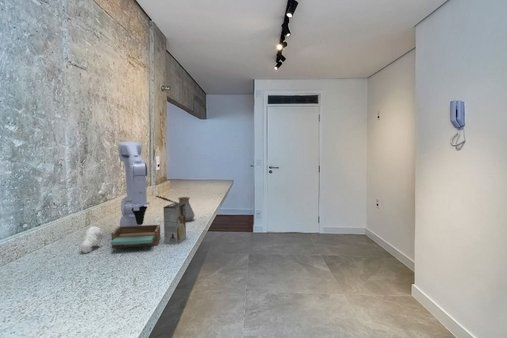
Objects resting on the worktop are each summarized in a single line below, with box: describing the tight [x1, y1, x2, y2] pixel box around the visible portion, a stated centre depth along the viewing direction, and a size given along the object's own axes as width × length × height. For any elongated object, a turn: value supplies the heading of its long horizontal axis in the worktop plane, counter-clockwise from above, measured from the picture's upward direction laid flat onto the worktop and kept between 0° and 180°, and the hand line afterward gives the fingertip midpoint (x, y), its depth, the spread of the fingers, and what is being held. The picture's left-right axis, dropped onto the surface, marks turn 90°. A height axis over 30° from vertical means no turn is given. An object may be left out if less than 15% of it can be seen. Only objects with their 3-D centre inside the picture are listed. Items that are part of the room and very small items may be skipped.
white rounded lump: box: [79, 225, 104, 254], centre depth 129 cm, size 6×8×12 cm
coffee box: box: [163, 202, 187, 245], centre depth 140 cm, size 9×6×16 cm
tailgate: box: [110, 236, 154, 246], centre depth 128 cm, size 2×15×7 cm
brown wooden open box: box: [111, 224, 161, 249], centre depth 138 cm, size 12×18×6 cm, turn 100°
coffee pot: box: [154, 195, 195, 223], centre depth 177 cm, size 21×12×15 cm, turn 107°
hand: (140, 224), depth 133 cm, fingers closed
